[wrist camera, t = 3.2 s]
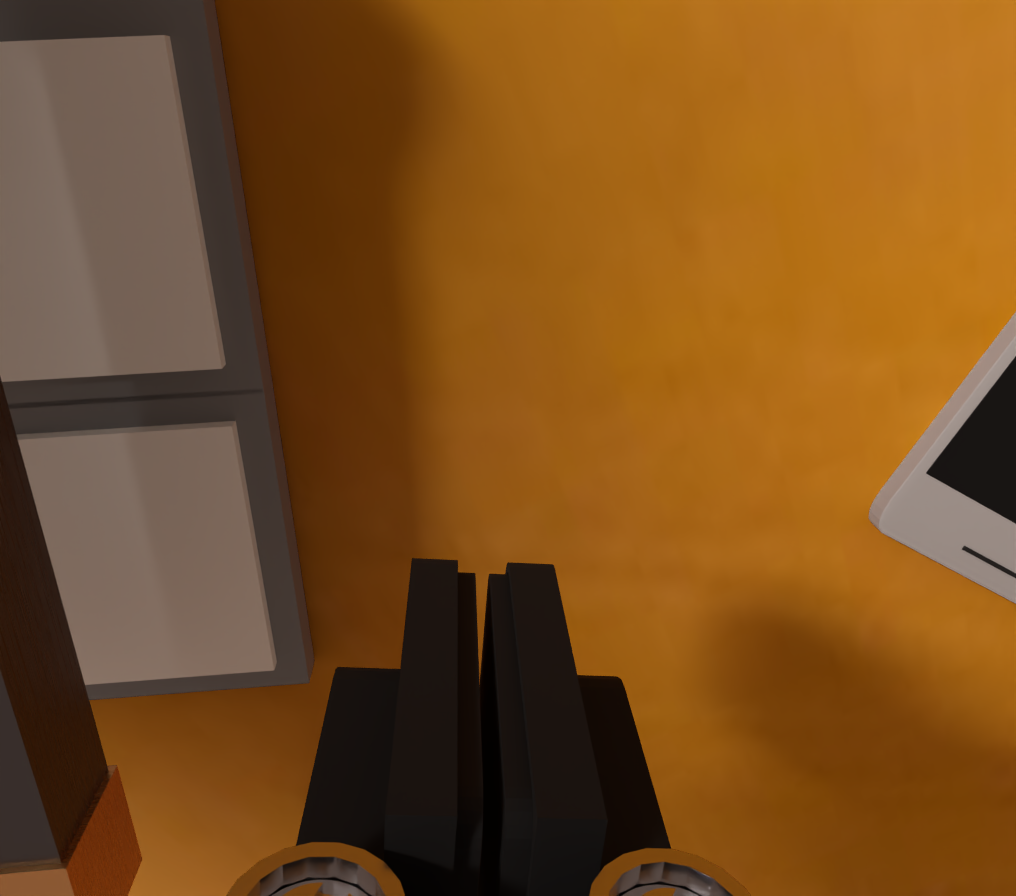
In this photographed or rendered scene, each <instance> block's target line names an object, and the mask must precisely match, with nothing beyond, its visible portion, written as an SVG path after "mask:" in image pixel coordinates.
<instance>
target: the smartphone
mask: <svg viewBox="0 0 1016 896" xmlns="http://www.w3.org/2000/svg"><path fill="white" fill-rule="evenodd" d="M869 520H870V521H871V523H872V524H873V525H874V526H875V527H876V528H877V529H878V530H880V531H881V532H882V533H883V534H885V535H887V536H889V537H891V538H893V539H895V540H897V541H899V542H900V543H902V544H904V545H906V546H908V547H910V548H912V549H914V550H915V551H917V552H919V553H921V554H923V555H925V556H927V557H929V558H931V559H932V560H934V561H936V562H938V563H940V564H942V565H944V566H946V567H948V568H949V569H951V570H953V571H955V572H957V573H959V574H961V575H963V576H965V577H966V578H968V579H970V580H972V581H974V582H976V583H978V584H980V585H982V586H983V587H985V588H987V589H989V590H991V591H993V592H995V593H997V594H999V595H1000V596H1002V597H1004V598H1006V599H1008V600H1010V601H1012V602H1014V603H1016V312H1015V314H1014V315H1013V316H1012V318H1011V319H1010V320H1009V322H1008V323H1007V324H1006V326H1005V327H1004V328H1003V329H1002V331H1001V332H1000V333H999V335H998V336H997V337H996V339H995V340H994V341H993V343H992V344H991V345H990V347H989V348H988V349H987V351H986V352H985V353H984V355H983V356H982V357H981V358H980V360H979V361H978V362H977V364H976V365H975V366H974V368H973V369H972V370H971V372H970V373H969V374H968V376H967V377H966V378H965V380H964V381H963V382H962V383H961V385H960V386H959V387H958V389H957V390H956V391H955V393H954V394H953V395H952V397H951V398H950V399H949V401H948V402H947V403H946V405H945V406H944V407H943V409H942V410H941V411H940V412H939V414H938V415H937V416H936V418H935V419H934V420H933V422H932V423H931V424H930V426H929V427H928V428H927V430H926V431H925V432H924V434H923V435H922V436H921V438H920V439H919V440H918V441H917V443H916V444H915V445H914V447H913V448H912V449H911V451H910V452H909V453H908V455H907V456H906V457H905V459H904V460H903V461H902V463H901V464H900V465H899V466H898V468H897V469H896V470H895V472H894V473H893V474H892V476H891V477H890V478H889V480H888V481H887V482H886V484H885V485H884V486H883V488H882V489H881V490H880V492H879V493H878V495H877V496H876V498H875V499H874V501H873V503H872V506H871V508H870V511H869Z"/></svg>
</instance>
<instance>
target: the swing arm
mask: <svg viewBox="0 0 1016 896" xmlns="http://www.w3.org/2000/svg"><path fill="white" fill-rule="evenodd" d="M141 861H142V856H141V853H140V849H139V845H138V841H137V838H136V834H135V830H134V826H133V823H132V819H131V815H130V812H129V808H128V804H127V800H126V797H125V793H124V789H123V786H122V782H121V778H120V774H119V771H118V767H117V765H112V766H107V764H106V760H105V756H104V753H103V749H102V745H101V742H100V738H99V734H98V731H97V727H96V723H95V720H94V716H93V712H92V709H91V705H90V702H89V698H88V694H87V691H86V687H85V683H84V680H83V676H82V672H81V669H80V665H79V661H78V658H77V654H76V650H75V647H74V643H73V640H72V636H71V632H70V629H69V625H68V621H67V618H66V614H65V610H64V607H63V603H62V599H61V596H60V592H59V589H58V585H57V581H56V578H55V574H54V570H53V567H52V563H51V559H50V556H49V552H48V548H47V545H46V541H45V537H44V534H43V530H42V527H41V523H40V519H39V516H38V512H37V508H36V505H35V501H34V497H33V494H32V490H31V486H30V483H29V479H28V476H27V472H26V468H25V465H24V461H23V457H22V454H21V450H20V446H19V443H18V439H17V435H16V432H15V428H14V424H13V421H12V417H11V414H10V410H9V406H8V403H7V399H6V395H5V392H4V388H3V384H2V381H1V377H0V896H128V894H129V891H130V889H131V886H132V884H133V881H134V879H135V876H136V874H137V871H138V869H139V866H140V864H141Z"/></svg>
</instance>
